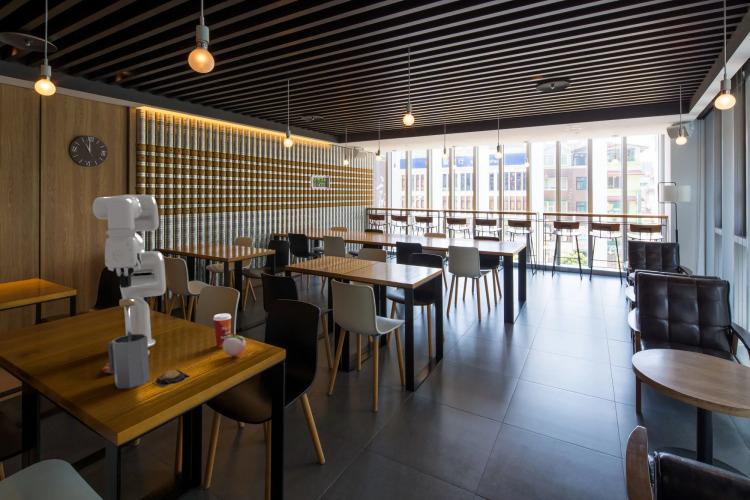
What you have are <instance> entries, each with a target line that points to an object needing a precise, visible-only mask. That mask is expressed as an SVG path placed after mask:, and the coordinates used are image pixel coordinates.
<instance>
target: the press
mask: <svg viewBox="0 0 750 500" xmlns="http://www.w3.org/2000/svg"><path fill="white" fill-rule="evenodd" d="M131 335H132V342H128V336H127V335H126V334H125V335H122V336H118V337H116V338H114V339H112V340H111V341H110V342H108V343H107V351H108V361H109V366H110V373H109V374H111V375H114V384H115V387H117V389H132V388H135V387H139V386H143V385H145V384H146V383H147V382H148V381H150V379H151V377H150V361H149V355H148V350H149V347H148V345H147V336H146V335H144V334H131Z"/></svg>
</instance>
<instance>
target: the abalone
mask: <svg viewBox="0 0 750 500" xmlns="http://www.w3.org/2000/svg"><path fill="white" fill-rule="evenodd" d="M190 376H191V375H190V374H189V375H188V374H187V373H184V372H182V371H181V370H178V369H176V370H174V369H171V370H168V371H165V372H163V373H162V374H161V375H160V376H158V377H157V378H156V379H155V380H154V381H153V382H152V384H154V385H156V386H158V387H160V388H167V387H169V386H172V385H175V384H177V383H180V382H182V381H184V380H187V379H188V378H190Z"/></svg>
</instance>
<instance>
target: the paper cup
mask: <svg viewBox="0 0 750 500" xmlns="http://www.w3.org/2000/svg"><path fill="white" fill-rule="evenodd" d="M231 319H232V316H231V314H230V313H218V314H215V315H214V316H213V318H212V320H213V324H214V325H213V326H214V334H215V340H216V341H215V342H216V347H217V348H219V349H223V342H224V340H225V339H226V338H227V337H226V338H224V337H225V336H229V335H231V326H232V325H231V324H232V323H231V321H232V320H231ZM223 338H224V339H223Z"/></svg>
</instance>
